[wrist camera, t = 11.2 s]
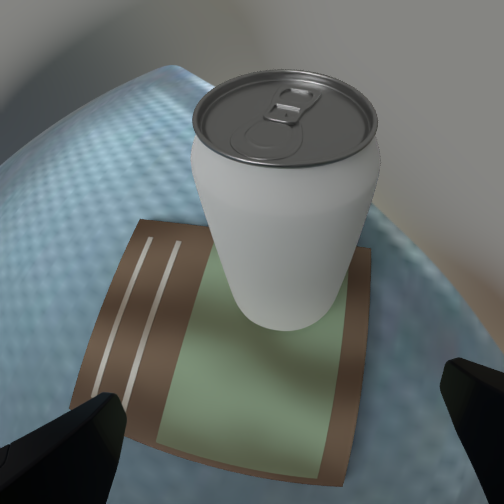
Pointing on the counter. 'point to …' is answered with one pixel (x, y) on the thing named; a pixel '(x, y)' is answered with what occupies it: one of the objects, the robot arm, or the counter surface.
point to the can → (285, 188)
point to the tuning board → (226, 363)
